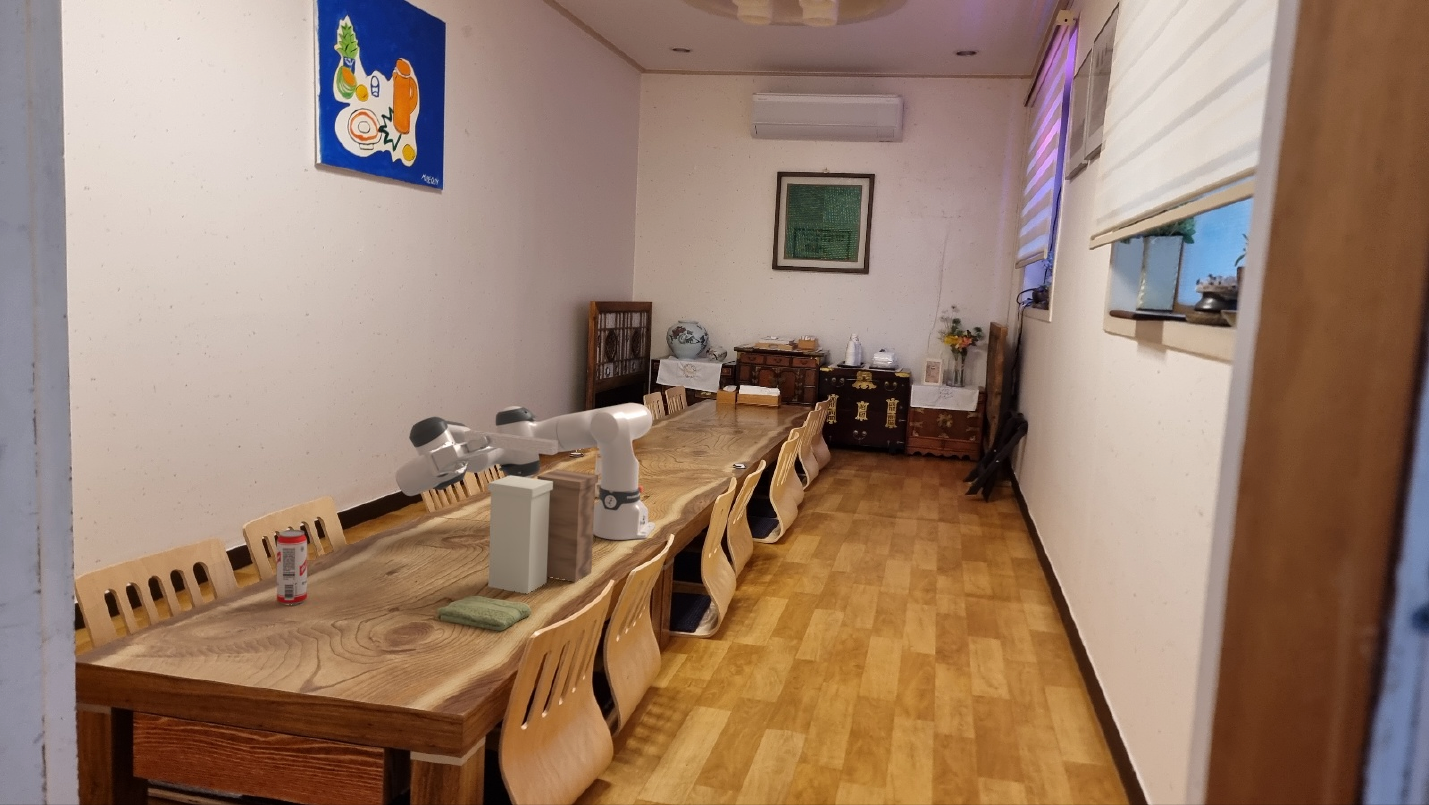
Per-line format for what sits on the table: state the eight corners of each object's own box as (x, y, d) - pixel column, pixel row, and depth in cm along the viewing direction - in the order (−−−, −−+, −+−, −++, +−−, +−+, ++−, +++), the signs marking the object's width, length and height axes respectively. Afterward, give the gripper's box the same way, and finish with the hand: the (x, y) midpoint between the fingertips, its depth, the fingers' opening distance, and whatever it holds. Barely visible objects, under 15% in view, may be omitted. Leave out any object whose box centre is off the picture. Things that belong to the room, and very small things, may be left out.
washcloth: (468, 603, 223) (468, 589, 223) (533, 616, 217) (534, 602, 217) (433, 620, 211) (433, 606, 211) (501, 635, 205) (502, 621, 205)
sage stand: (507, 575, 243) (510, 475, 239) (549, 583, 239) (552, 481, 235) (485, 587, 233) (488, 482, 230) (528, 595, 229) (532, 489, 226)
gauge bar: (471, 441, 237) (471, 429, 237) (557, 453, 230) (558, 440, 229) (464, 443, 235) (464, 431, 234) (551, 455, 227) (552, 442, 227)
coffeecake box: (613, 498, 329) (616, 443, 326) (592, 497, 329) (595, 441, 326) (618, 489, 344) (621, 435, 341) (599, 487, 344) (601, 434, 341)
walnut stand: (552, 565, 253) (556, 469, 249) (593, 572, 249) (598, 474, 246) (533, 575, 244) (537, 476, 240) (576, 583, 240) (580, 482, 236)
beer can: (274, 607, 212) (274, 537, 210) (279, 597, 218) (279, 529, 216) (304, 605, 214) (304, 536, 212) (308, 596, 220) (308, 528, 218)
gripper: (478, 464, 248) (519, 443, 243) (430, 478, 229) (474, 456, 224) (468, 442, 248) (509, 420, 243) (419, 454, 229) (463, 432, 224)
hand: (492, 438), depth 234 cm, fingers closed on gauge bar, 3 cm apart
